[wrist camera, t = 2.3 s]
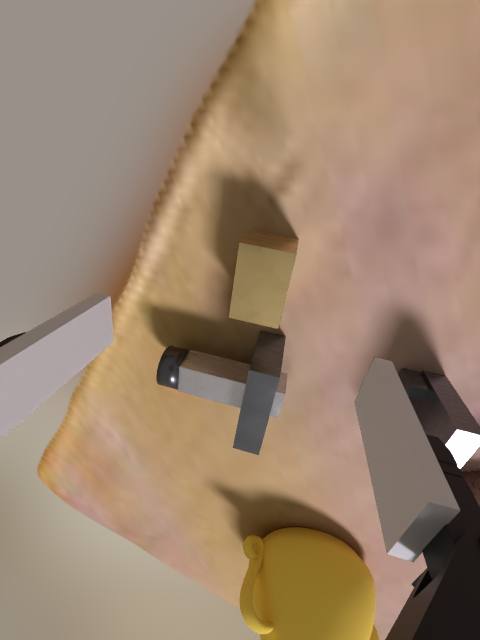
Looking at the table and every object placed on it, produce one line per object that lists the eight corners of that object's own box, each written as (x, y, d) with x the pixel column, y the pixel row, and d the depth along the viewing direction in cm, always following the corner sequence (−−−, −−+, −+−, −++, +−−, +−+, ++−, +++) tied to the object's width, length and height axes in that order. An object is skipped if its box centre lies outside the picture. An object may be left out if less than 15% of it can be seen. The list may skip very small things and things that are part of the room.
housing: (245, 400, 33) (231, 452, 27) (260, 330, 28) (247, 373, 22) (404, 442, 31) (427, 508, 25) (446, 374, 26) (488, 435, 20)
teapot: (423, 582, 42) (469, 746, 30) (338, 608, 50) (348, 743, 38) (283, 495, 39) (272, 634, 27) (219, 538, 48) (190, 658, 36)
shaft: (173, 368, 32) (156, 392, 28) (174, 338, 30) (156, 360, 26) (280, 396, 30) (276, 425, 27) (288, 366, 28) (286, 393, 25)
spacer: (241, 294, 27) (228, 317, 23) (251, 229, 24) (239, 242, 20) (283, 303, 27) (278, 329, 22) (298, 238, 24) (296, 253, 20)
